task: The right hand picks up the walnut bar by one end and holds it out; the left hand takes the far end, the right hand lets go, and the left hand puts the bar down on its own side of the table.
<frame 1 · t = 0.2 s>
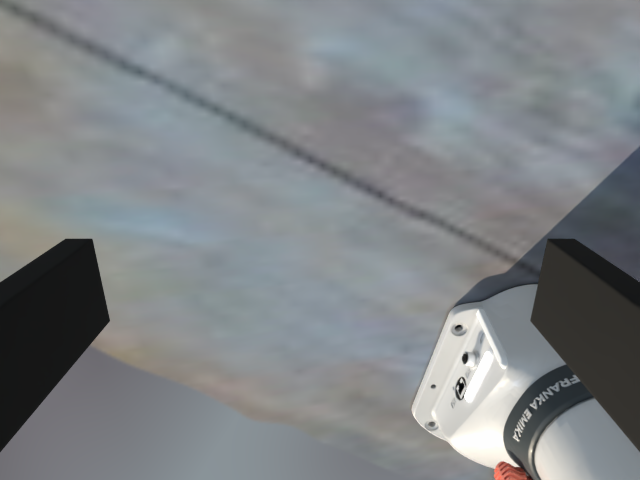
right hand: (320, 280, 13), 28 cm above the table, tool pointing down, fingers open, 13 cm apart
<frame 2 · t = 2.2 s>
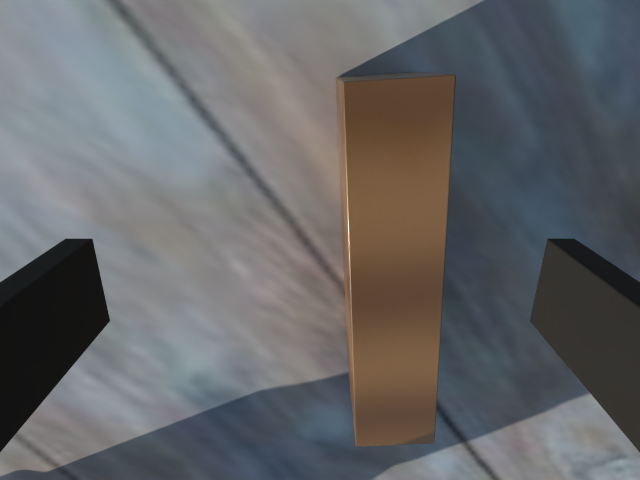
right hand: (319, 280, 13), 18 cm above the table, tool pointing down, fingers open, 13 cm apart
bar: (377, 238, 31), on the table
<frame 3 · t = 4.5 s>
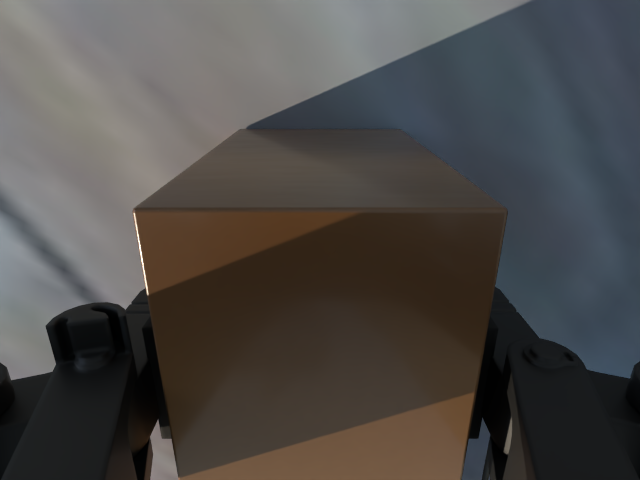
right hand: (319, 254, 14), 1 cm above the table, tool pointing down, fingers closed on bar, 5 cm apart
bar: (320, 407, 18), on the table, touching right hand
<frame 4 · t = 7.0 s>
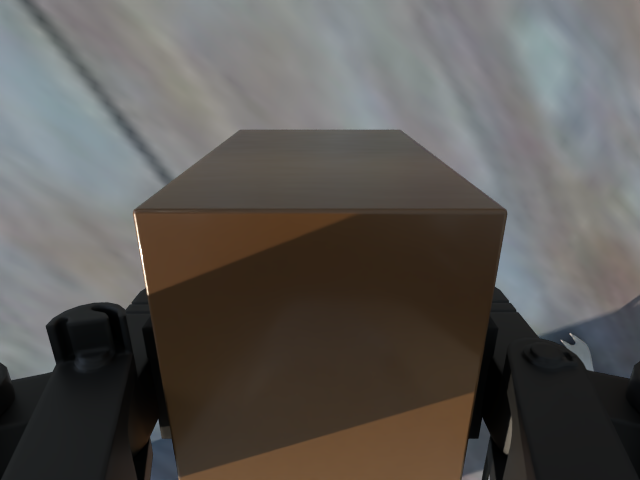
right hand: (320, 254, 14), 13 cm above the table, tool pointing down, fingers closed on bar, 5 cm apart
bar: (320, 407, 18), point 12 cm above the table, touching right hand
fork: (604, 387, 32), on the table
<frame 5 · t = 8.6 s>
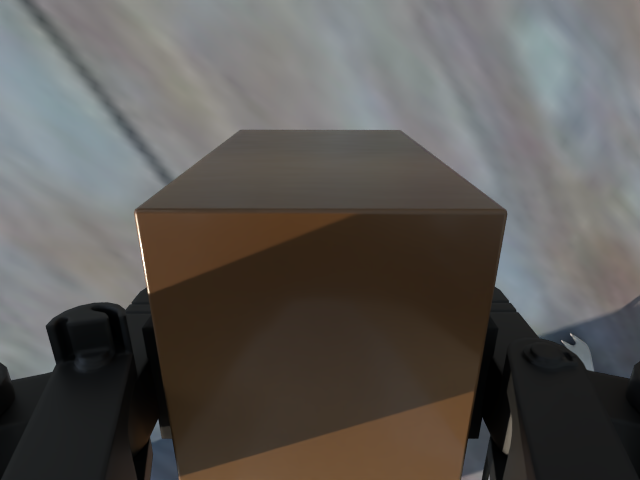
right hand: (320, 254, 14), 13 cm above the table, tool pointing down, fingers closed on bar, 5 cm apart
bar: (319, 407, 18), point 12 cm above the table, touching right hand, left hand
fork: (604, 387, 32), on the table
when the right hand's fingers open (13 cm above the table, at t = 9.5 s): bar stays where it is, held by the left hand.
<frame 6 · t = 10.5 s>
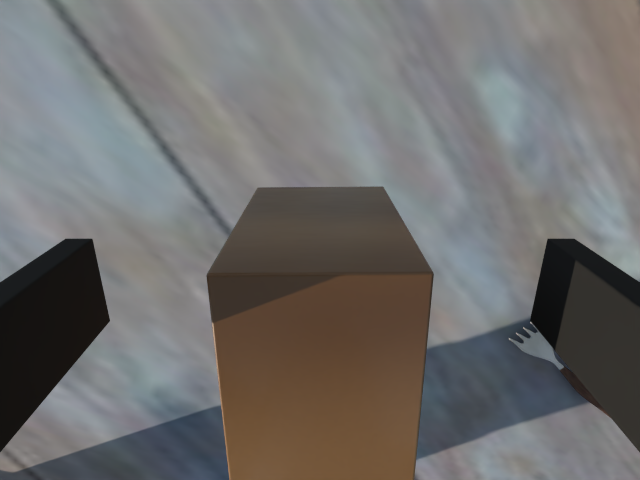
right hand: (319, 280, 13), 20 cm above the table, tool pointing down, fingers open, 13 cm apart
bar: (322, 407, 21), point 15 cm above the table, touching left hand
fork: (564, 369, 38), on the table
when the left hand's fingers open (4 cm above the table, at t = 14.3 s): bar drops 1 cm, on the table.
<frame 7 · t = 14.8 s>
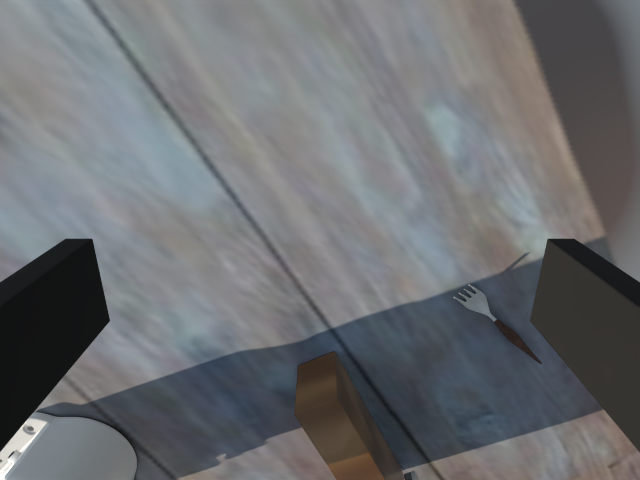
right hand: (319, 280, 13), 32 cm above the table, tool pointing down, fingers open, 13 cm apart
bar: (352, 420, 57), on the table
fork: (498, 322, 51), on the table
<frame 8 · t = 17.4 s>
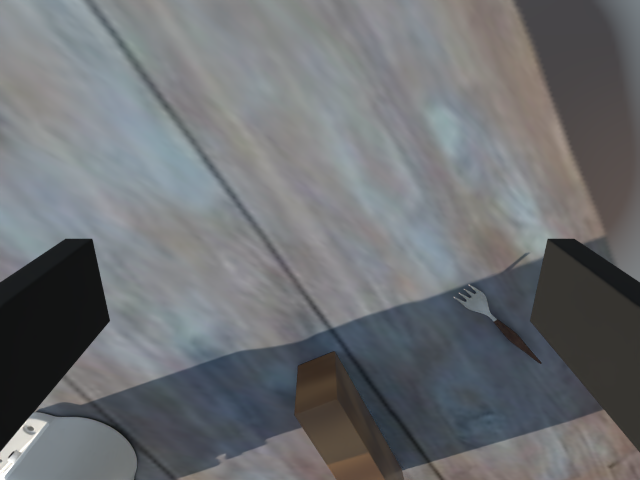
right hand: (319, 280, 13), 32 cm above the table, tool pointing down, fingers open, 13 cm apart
bar: (352, 420, 57), on the table
fork: (498, 322, 51), on the table
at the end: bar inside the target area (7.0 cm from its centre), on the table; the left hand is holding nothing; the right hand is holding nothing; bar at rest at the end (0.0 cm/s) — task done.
